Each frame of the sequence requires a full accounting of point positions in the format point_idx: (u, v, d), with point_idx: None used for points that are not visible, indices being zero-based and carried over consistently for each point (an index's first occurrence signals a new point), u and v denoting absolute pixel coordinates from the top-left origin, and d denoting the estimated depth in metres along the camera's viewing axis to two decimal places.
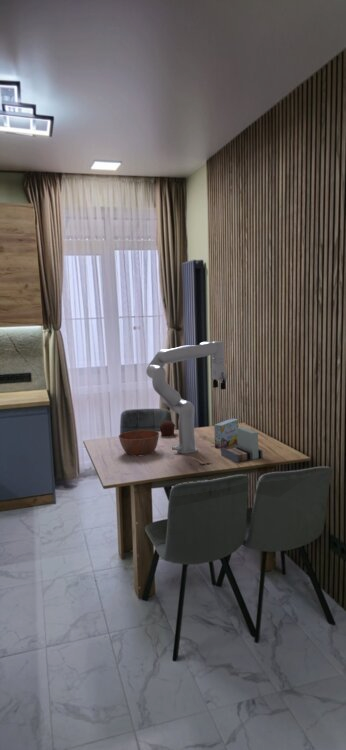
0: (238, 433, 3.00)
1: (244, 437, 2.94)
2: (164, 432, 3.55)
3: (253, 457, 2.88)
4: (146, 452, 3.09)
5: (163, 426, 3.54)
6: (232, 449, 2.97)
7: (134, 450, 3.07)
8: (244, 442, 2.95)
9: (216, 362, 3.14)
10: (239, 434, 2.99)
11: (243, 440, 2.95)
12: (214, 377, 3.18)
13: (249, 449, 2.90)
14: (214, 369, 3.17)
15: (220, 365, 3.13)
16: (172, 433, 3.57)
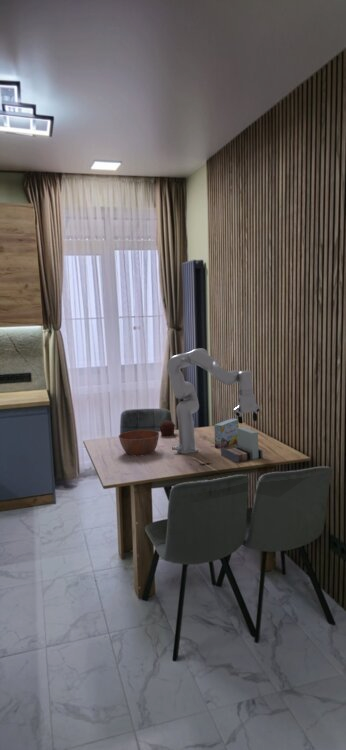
0: (238, 433, 3.00)
1: (244, 437, 2.94)
2: (164, 432, 3.55)
3: (253, 457, 2.88)
4: (146, 452, 3.09)
5: (163, 426, 3.54)
6: (232, 449, 2.97)
7: (134, 450, 3.07)
8: (244, 442, 2.95)
9: (252, 393, 2.90)
10: (239, 434, 2.99)
11: (243, 440, 2.95)
12: (248, 410, 2.90)
13: (249, 449, 2.90)
14: (249, 401, 2.90)
15: None
16: (172, 433, 3.57)
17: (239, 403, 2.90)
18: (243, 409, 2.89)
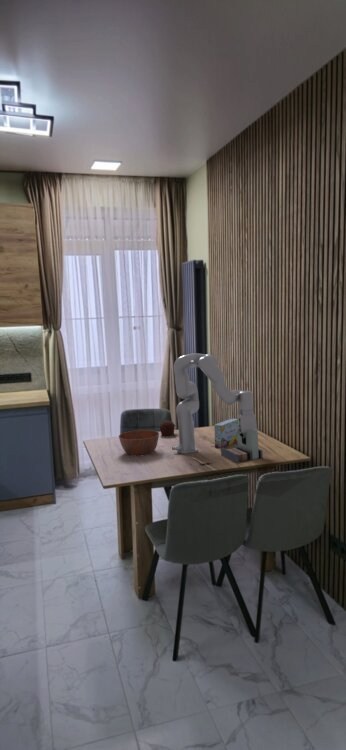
0: None
1: None
2: (164, 432, 3.55)
3: (253, 457, 2.88)
4: (146, 452, 3.09)
5: (163, 426, 3.54)
6: (232, 449, 2.97)
7: (134, 450, 3.07)
8: None
9: None
10: None
11: None
12: (248, 430, 2.92)
13: (249, 449, 2.90)
14: (249, 421, 2.91)
15: None
16: (172, 433, 3.57)
17: (239, 423, 2.92)
18: (243, 429, 2.90)
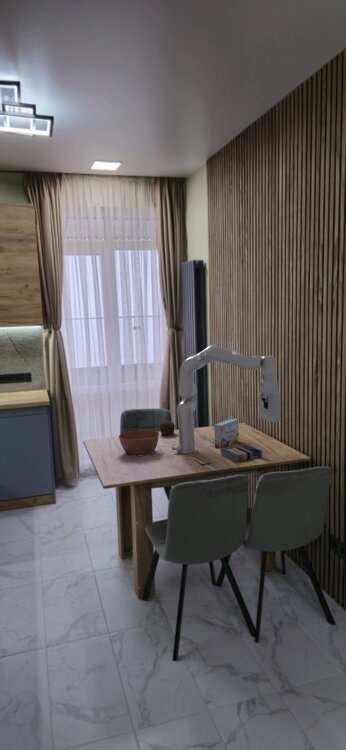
0: None
1: None
2: (164, 432, 3.55)
3: (275, 421, 2.92)
4: (146, 452, 3.09)
5: (163, 426, 3.54)
6: (232, 449, 2.97)
7: (134, 450, 3.07)
8: None
9: (274, 377, 2.95)
10: None
11: None
12: (270, 394, 2.95)
13: (271, 413, 2.94)
14: (271, 386, 2.95)
15: None
16: (172, 433, 3.57)
17: (261, 387, 2.95)
18: (265, 393, 2.94)
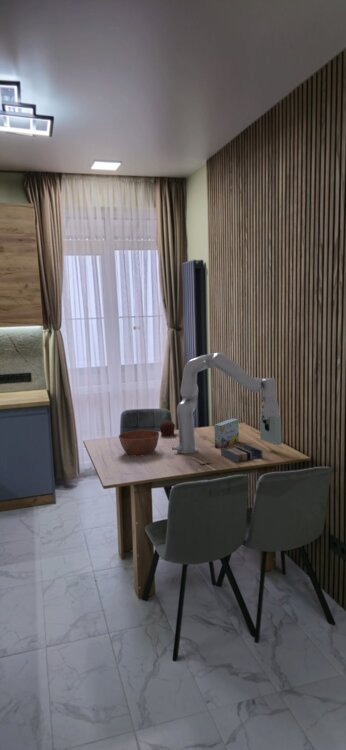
0: None
1: None
2: (164, 432, 3.55)
3: (276, 443, 2.94)
4: (146, 452, 3.09)
5: (163, 426, 3.54)
6: (232, 449, 2.97)
7: (134, 450, 3.07)
8: None
9: (275, 400, 2.97)
10: None
11: None
12: (271, 417, 2.97)
13: (272, 435, 2.96)
14: (272, 408, 2.96)
15: None
16: (172, 433, 3.57)
17: (262, 410, 2.97)
18: (266, 415, 2.96)
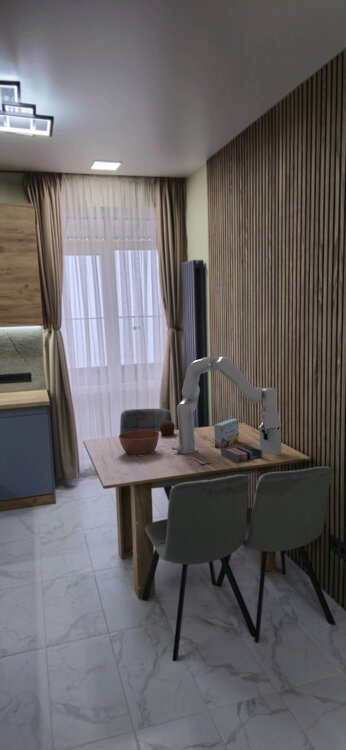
0: (261, 431, 3.06)
1: None
2: (164, 432, 3.55)
3: None
4: (146, 452, 3.09)
5: (163, 426, 3.54)
6: (232, 449, 2.97)
7: (134, 450, 3.07)
8: (267, 440, 3.01)
9: (275, 410, 2.98)
10: None
11: None
12: (271, 426, 2.98)
13: (272, 447, 2.96)
14: (272, 418, 2.97)
15: None
16: (172, 433, 3.57)
17: (262, 419, 2.98)
18: (266, 425, 2.96)
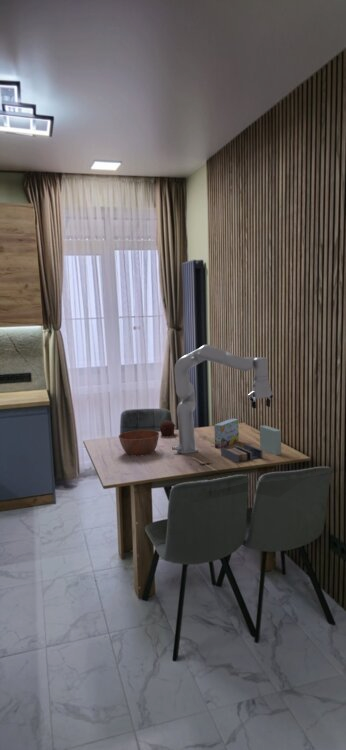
0: (261, 431, 3.06)
1: (267, 435, 3.00)
2: (164, 432, 3.55)
3: None
4: (146, 452, 3.09)
5: (163, 426, 3.54)
6: (232, 449, 2.97)
7: (134, 450, 3.07)
8: (267, 440, 3.01)
9: None
10: (262, 432, 3.05)
11: (266, 438, 3.01)
12: (262, 396, 2.98)
13: (272, 447, 2.96)
14: (263, 387, 2.97)
15: None
16: (172, 433, 3.57)
17: (253, 388, 2.98)
18: (257, 394, 2.97)
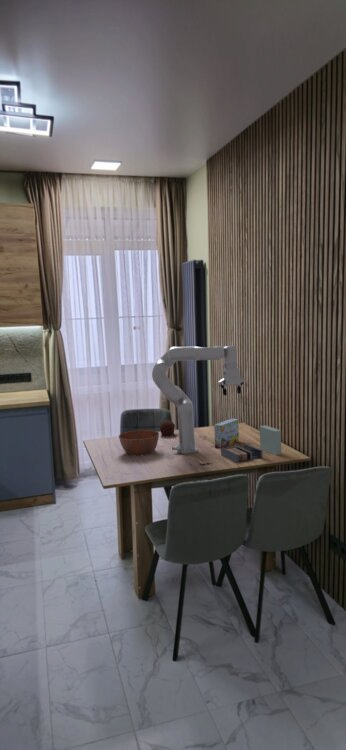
0: (261, 431, 3.06)
1: (267, 435, 3.00)
2: (164, 432, 3.55)
3: None
4: (146, 452, 3.09)
5: (163, 426, 3.54)
6: (232, 449, 2.97)
7: (134, 450, 3.07)
8: (267, 440, 3.01)
9: (236, 366, 3.07)
10: (262, 432, 3.05)
11: (266, 438, 3.01)
12: (233, 383, 3.06)
13: (272, 447, 2.96)
14: (233, 374, 3.06)
15: None
16: (172, 433, 3.57)
17: (224, 376, 3.07)
18: (227, 382, 3.05)
